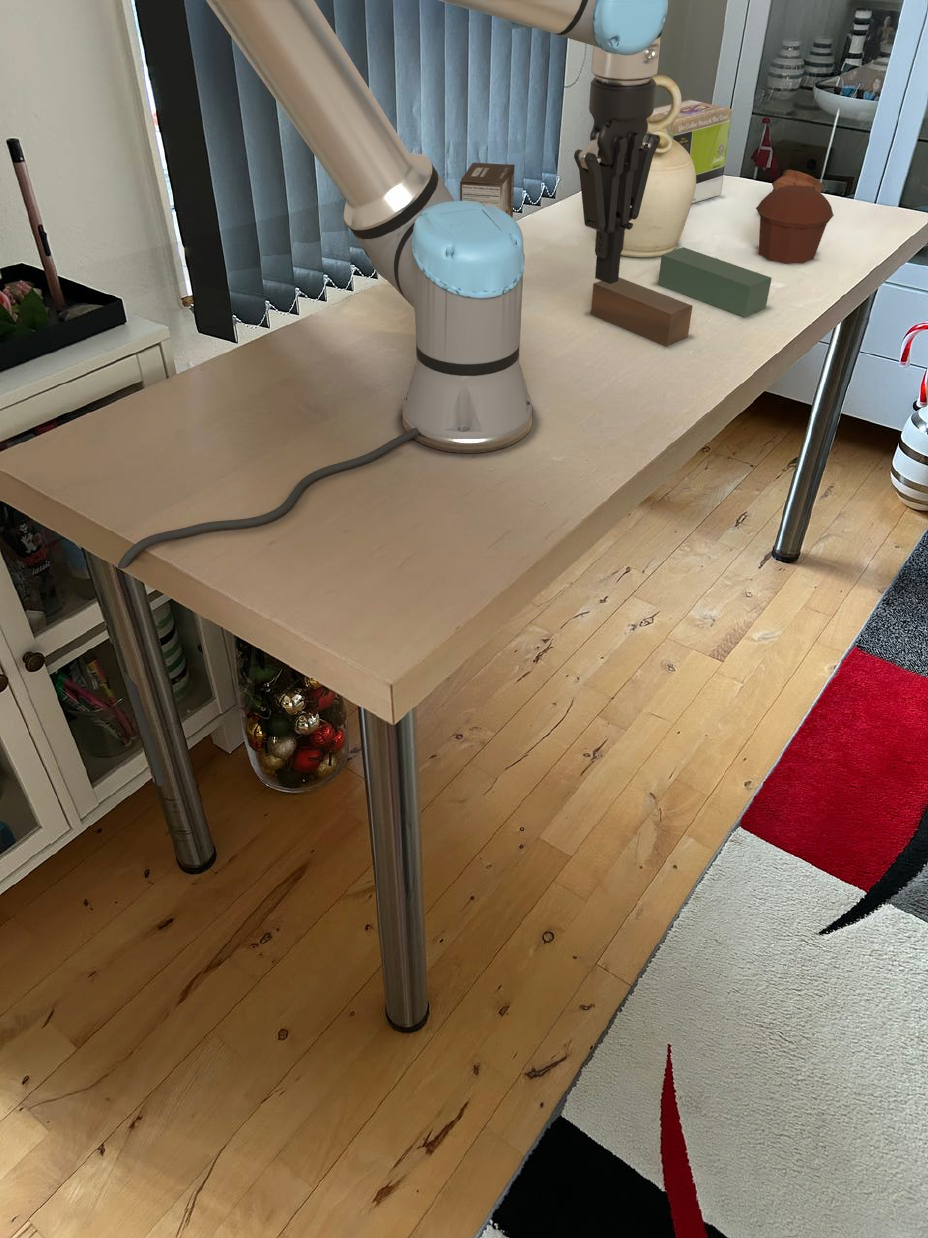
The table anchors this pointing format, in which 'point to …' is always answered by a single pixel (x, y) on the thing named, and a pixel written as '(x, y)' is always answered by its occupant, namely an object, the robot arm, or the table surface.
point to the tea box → (701, 142)
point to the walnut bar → (641, 311)
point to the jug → (663, 189)
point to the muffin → (792, 223)
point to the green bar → (714, 281)
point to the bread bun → (797, 180)
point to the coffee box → (489, 185)
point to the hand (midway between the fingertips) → (606, 279)
